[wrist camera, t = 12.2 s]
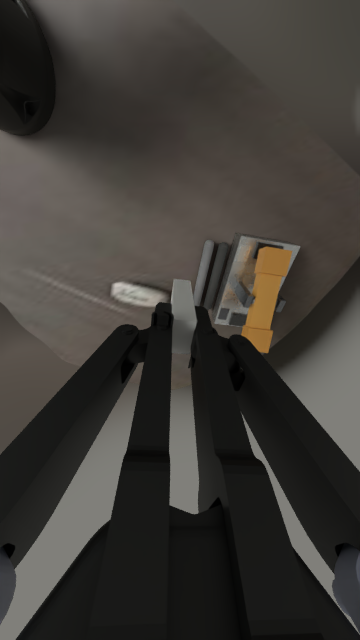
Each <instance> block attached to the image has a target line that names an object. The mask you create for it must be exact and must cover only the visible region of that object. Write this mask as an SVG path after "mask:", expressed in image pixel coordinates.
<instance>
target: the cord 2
mask: <svg viewBox="0 0 360 640" xmlns="http://www.w3.org/2000/svg"><path fill="white" fill-rule="evenodd" d="M227 250H228V244H227V243H225V242H222V243H220V244H219V247H218V251H217V254H216V258H215V262H214V266H213V270H212V274H211V278H210V282H209V286H208V290H207V294H206V298H205V301H204V307H205V308H206V309H207V310H209V309H211V307H212V303H213V300H214V296H215V293H216V289H217V285H218V282H219V278H220V275H221V271H222V268H223V264H224V261H225V257H226V254H227Z"/></svg>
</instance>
